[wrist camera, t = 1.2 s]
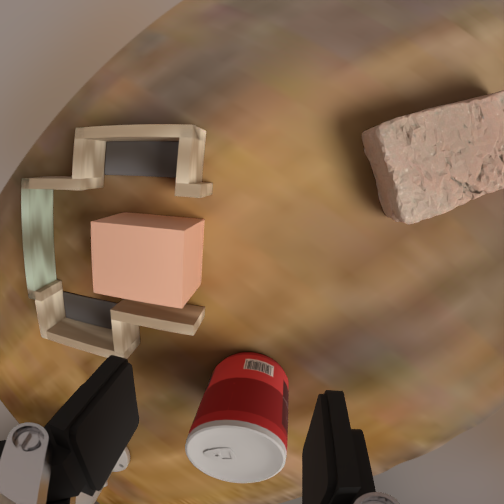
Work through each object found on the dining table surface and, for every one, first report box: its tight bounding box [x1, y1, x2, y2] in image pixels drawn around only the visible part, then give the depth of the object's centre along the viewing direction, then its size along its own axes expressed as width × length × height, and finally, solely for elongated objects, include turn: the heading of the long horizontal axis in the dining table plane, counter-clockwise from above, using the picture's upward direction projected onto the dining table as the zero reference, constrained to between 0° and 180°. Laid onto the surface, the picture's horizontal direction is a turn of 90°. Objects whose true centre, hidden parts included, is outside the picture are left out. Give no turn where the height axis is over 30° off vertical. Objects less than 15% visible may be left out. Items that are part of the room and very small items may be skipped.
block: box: [91, 212, 205, 309], centre depth 27 cm, size 6×8×6 cm
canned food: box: [185, 352, 288, 483], centre depth 27 cm, size 8×8×11 cm
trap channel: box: [21, 124, 213, 359], centre depth 28 cm, size 22×19×4 cm
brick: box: [362, 90, 504, 224], centre depth 23 cm, size 17×8×5 cm, turn 112°
